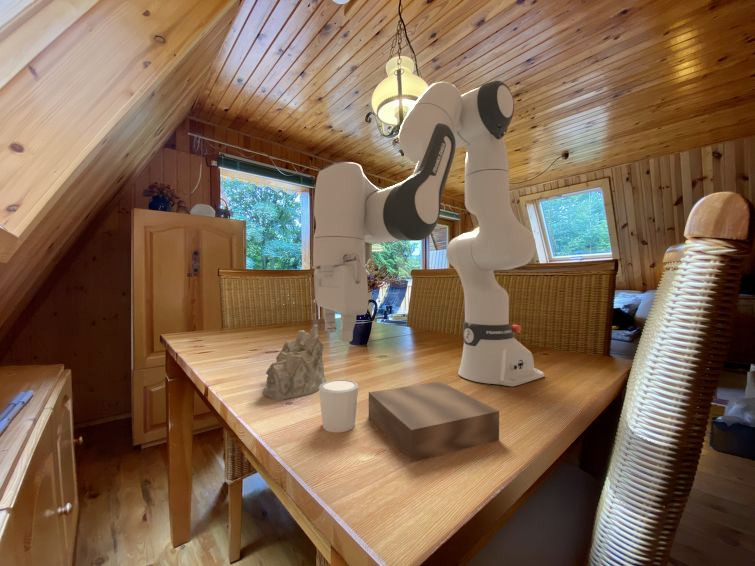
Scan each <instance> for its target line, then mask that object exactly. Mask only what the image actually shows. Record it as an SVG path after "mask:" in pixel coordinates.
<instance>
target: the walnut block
mask: <svg viewBox="0 0 755 566" xmlns="http://www.w3.org/2000/svg"><path fill="white" fill-rule="evenodd" d="M368 418H369V419H370V420H371V421H372V422H373V423H374V425H375V426H377V428H378V429H379V430H380V431H381V432H382V434H384V435H385V437H386V438H387V439H389V441H390V442H391V443H393V445H394V446H395V447H396V448H397V449H398V450H399V451H400V453H402V455H404V456H405V458H406V459H407V460H408V461H409V462H410V463H415V462H419V461H424V460H428V459H431V458H436V457H439V456H442V455H446V454H450V453H455V452H458V451H462V450H465V449H469V448H470V449H471V448H473V447H477V446H481V445H486V444H489V443H493V442H496V441H497V442H498V441H499V440H500V411H499V410H498V409H495V408H493V407H492V406H490V405H488V404H486V403H484V402H482V401H480V400H478V399H476V398H474V397H473V396H470V395H468V394H466V393H464V392H462V391H460V390H459V389H456V388H454V387H452V386H451V385H448V384H446V383H444V382H443V381H435V382H429V383H423V384H415V385H408V386H402V387H396V388H390V389H384V390H376V391H370V392H369V391H368Z"/></svg>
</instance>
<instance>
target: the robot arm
mask: <svg viewBox="0 0 755 566" xmlns="http://www.w3.org/2000/svg"><path fill="white" fill-rule="evenodd" d="M459 90H460V89H458V87H456V86H455V85H454V84H452V83H450V82H448V81H447V82H446V81H438V82H435V83H432V84H431V85H430V86H429V87H427V88H426V89H425V91H424V92H423V93H422V94H420V96H419V97H418V99H416V100H415V102H414V104H413V105H412V106H411V108H410V110H409V111H408V112H407V114H406V116H405V117H404V119H403V121H402V123H401V125H400V129H399V132H398V142H399V146H400V149H401V152H403V154H404V155H405V156H406V157H407V159H409V160H410V161H411V162H413V163H414V164H416V166H415V168H414V171H413V173H412V174H411V175H410V176H409V177H408V178H406V179H405V180H403V181H401V182H399V183H396V184H395V185H392V186H389V187H386V188H383V189H380V188H378V187H376V186H375V185H374V184H373V183H372V182H371V181H370V180H369V179H368V178H367V176H366V175H365V174H364V171H363V168H362V165H360V164H359V163H356V162H352V161H340V162H334V163H331V164H329V165H326V166H325V167H322V169H321V170H320V171H319V172H318V174H317V177H316V181H315V182H316V183H315V188H314V201H313V202H314V203H313V215H314V219H315V220H314V221H315V231H314V234H313V250H312V257H311V260H310V262H311V263H310V266H311V268H312V269H314V271H313V279H314V282H313V283H314V298H315V303H316V305H317V306H318V307H321V308H322V309H323V310H322V313H323V318H324V322H325V323H324V329H325V332H327V333H329V334H332V333H336V332H337V322H336V313H339V314H340V321H341V326H340V329H339V340H340V341H341V342H344V343H349V342H350V343H351V342H353V339H354V338H353V337H354V329H355V325H356V323H357V316H363V315H366V314H367V312H368V309H369V285H368V281H369V280H368V273H367V269H366V268H365V243H368V244H382V243H392V242H400V241H404V242H405V241H406V242H407V241H408V242H410V241H411V242H412V241H422V240H425V239H427V238H428V237H430V235H431V234H432V233H433V232H434V230H435V229H436V227H437V225H438V222H439V219H440V216H441V215H440V214H441V204H442V197H443V193H444V190H445V187H446V184H447V181H448V177H449V173H450V171H451V168H452V166H453V165H452V164H453V161H454V158H455V157H454V156H455V154H456V153H455V152H456V149H459V148H462V147H465V150H466V156H465V163H464V206H465V208H466V210H467V212H469V213H470V214H472V215H474V216H475V217H476V219H477V224H478V228H479V230H478V229H477V230H473V231H467V232H464V233H462V234H460V235H457V236H456V237H454V238H452V239H451V240H450V241H449V243H448V245H447V248H446V257H447V260H448V263H449V264H450V265H451V266H452V267H453V268H454V270H455V271H456V273H457V274H458V277H459V279H460V281H461V286H462V289H463V295H464V296H463V297H464V299H463V300H464V321H463V322H462V335H463V336H462V337H463V347H462V354H461V360H460V364H459V365H460V366H459V369H458V371H457V373H458V375H459V376H460V377H462V378H463V379H466V380H469V381H472V382H475V383H481V384H489V385H491V384H493V385H502V386H507V387H516V386H520V385H522V384H526V383H530V382H531V381H534V380H539V379H542V378H543V377H545V373H544V372H543V371H541V370H540V369H538V368H535V365H534V355H533V354H532V352H531V350H529V349H528V348H527V347H525V346H524V345H523V344H522V343H521V342H520V341H518V340H517V339H516V338H515V335H514V333H518V334H519V333H521V331H522V326H521V325H519V324H512V325H511V324H510V323H509V322H510V321H509V320H510V318H509V317H510V313H509V312H510V311H509V310H510V296H509V294H508V292H507V290H506V289H505V288H503V287H502V285H500V284H499V283H498V281H497V279H496V276H495V273H494V271H501V270H502V271H503V270H506V271H508V270H512V269H516V268H519V267H522V266H523V267H524V266H526V265H527V264H529V263H530V262H531V261H532V259H533V257H534V256H535V253H536V249H537V248H536V239H535V237H534V235H533V233H532V231H531V230H529V228H528V227H526V226H524V225H523V224H522V223H521V222H519V219H518V218H517V217H516V215H515V213H514V210H513V209H512V204H511V197H510V196H511V195H510V167H509V166H510V165H509V157H508V150H507V146H506V141H505V138H504V136H505V135H506V134H507V131H508V128H509V126H510V124H511V123H512V120H513V116H514V111H515V102H514V96H513V94H512V92H511V89H510V88H509V86H508V85H507V84H505V83H504V82H503V81H502V80H494V81H488V82H486V83H483V84H482V85H481V86H480V87H477V88H474V89H472V90H469V91H468V92H465V93H464V94H461V92H460V91H459Z"/></svg>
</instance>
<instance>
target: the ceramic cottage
mask: <svg viewBox="0 0 755 566" xmlns="http://www.w3.org/2000/svg"><path fill="white" fill-rule="evenodd" d="M284 342H285V343H284V344H283V347H282V349H281V350H280V352H279V353H278V355H277V356H276V358H275V360H276V361H275V362H272V363H271V364H269V368H268V369H267V370H266V372H265V374H266V375H267V378H266V385H265V386H266V387H264V388H263V390H262V395H263V396H264V397H267V398H270V399H272V400H274V401H282V400H287V399H288V400H289V399H290V398H291V399H294V398H299V397H304V396H309V395H311V394H314V393H316V392H318V391H319V386H320V384H322V383H324V382H327V381H326V377H325V372H324V371H325V367H324V366H325V363H324V361H323V351H324V349H325V347H324V344H323V343H322V342H321V340H320V337H319V333H318V324H313V325H312V328H311V329H309V332H306V331H305V330H303V329H302V330H298V332H297V336H296V339H294V340H287V341H284Z"/></svg>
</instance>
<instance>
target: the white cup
mask: <svg viewBox="0 0 755 566" xmlns="http://www.w3.org/2000/svg"><path fill="white" fill-rule="evenodd" d="M318 391H319V399H320V400H319V402H320V411H321V423H322V424H321V425H322V428H323V430H324V431H327V432H329V433H330V432H331V433H345V432H348V431H350V430H352V429H353V428H354V427H355V425H356V424H355V423H356V415H357V413H356V412H357V405H358V404H357V403H358V393H359V383H358V382H356V381H354V380H349V379H334V380H333V379H332V380H328V381H326V382H324V383H322V384H320V386H319V390H318Z"/></svg>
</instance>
